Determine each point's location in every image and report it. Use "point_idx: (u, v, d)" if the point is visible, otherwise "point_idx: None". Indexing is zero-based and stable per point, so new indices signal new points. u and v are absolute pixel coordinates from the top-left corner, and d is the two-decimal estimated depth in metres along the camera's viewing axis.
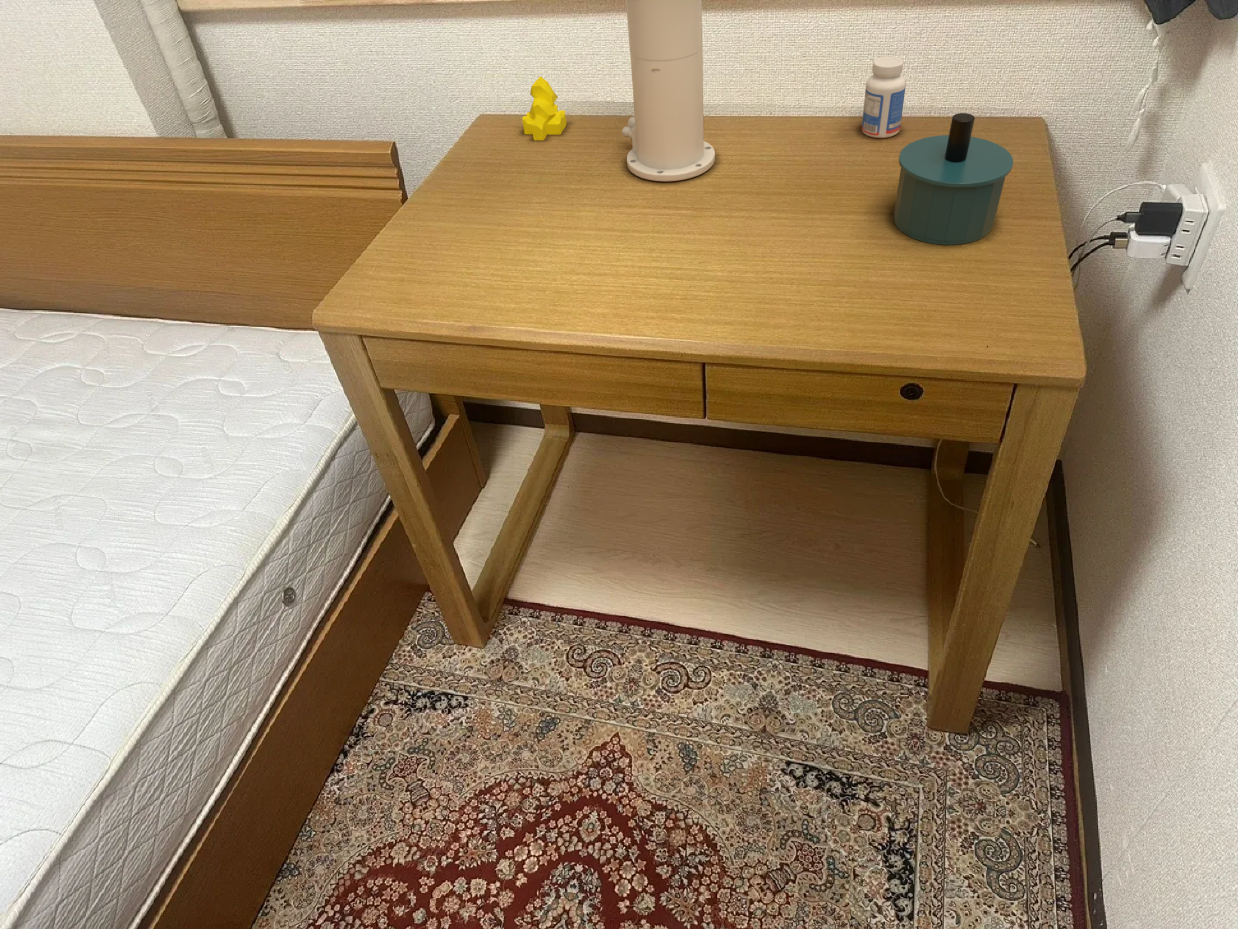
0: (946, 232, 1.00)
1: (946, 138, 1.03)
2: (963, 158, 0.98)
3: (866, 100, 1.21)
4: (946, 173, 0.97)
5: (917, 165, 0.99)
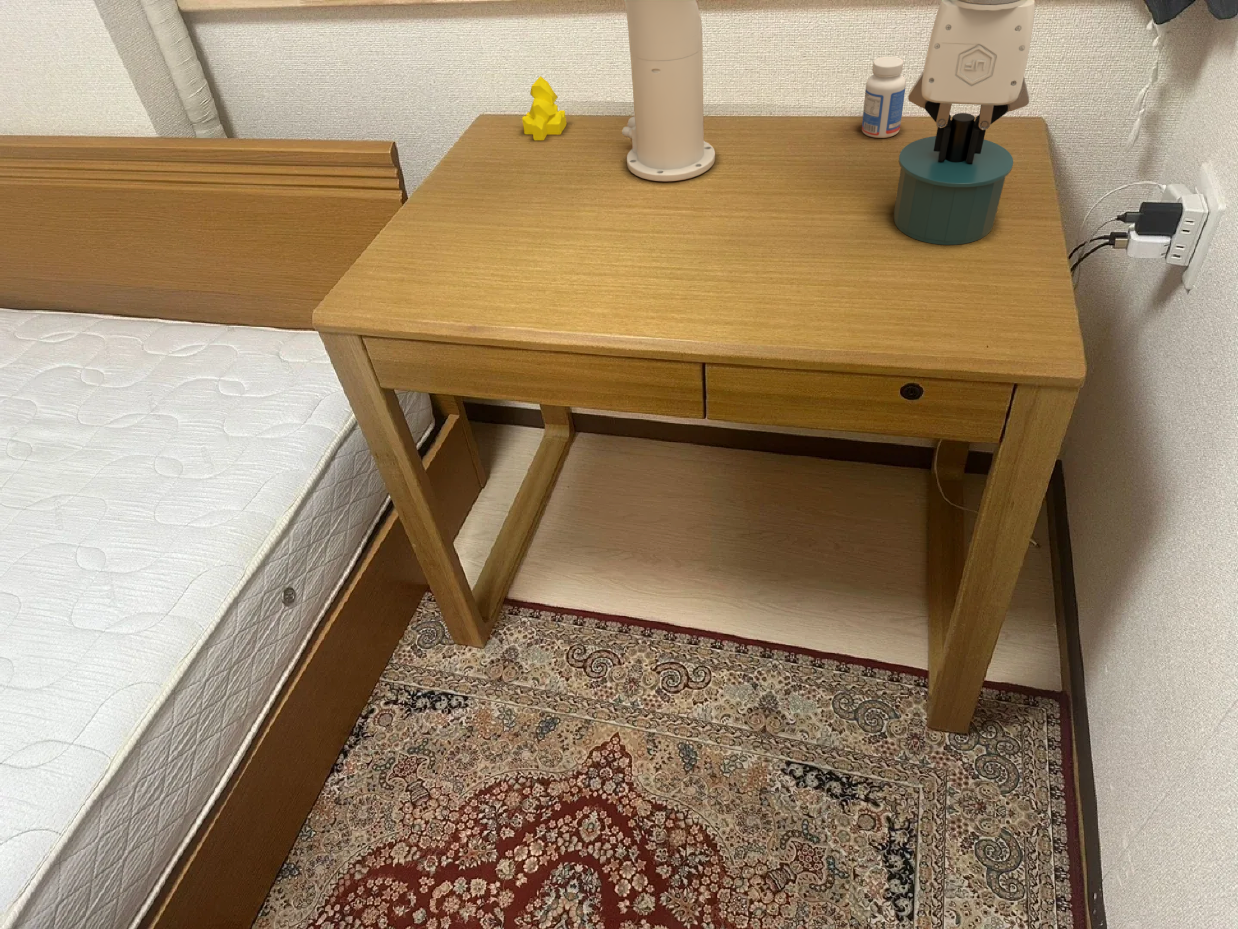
0: (946, 232, 1.00)
1: None
2: (963, 158, 0.98)
3: (866, 100, 1.21)
4: (946, 173, 0.97)
5: (917, 165, 0.99)
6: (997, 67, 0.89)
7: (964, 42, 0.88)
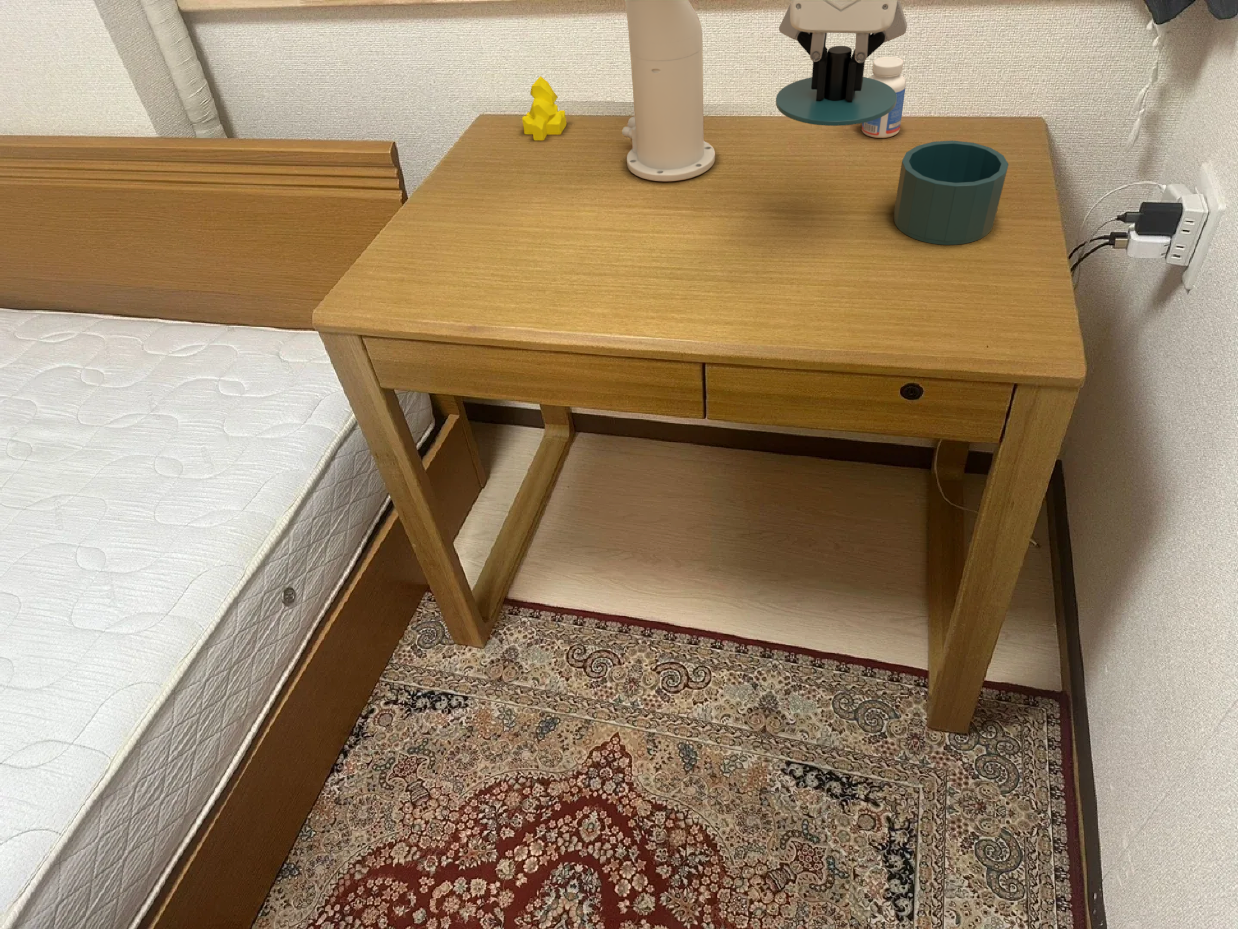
0: (946, 232, 1.00)
1: None
2: (843, 96, 0.90)
3: None
4: (822, 111, 0.89)
5: (793, 104, 0.91)
6: None
7: None
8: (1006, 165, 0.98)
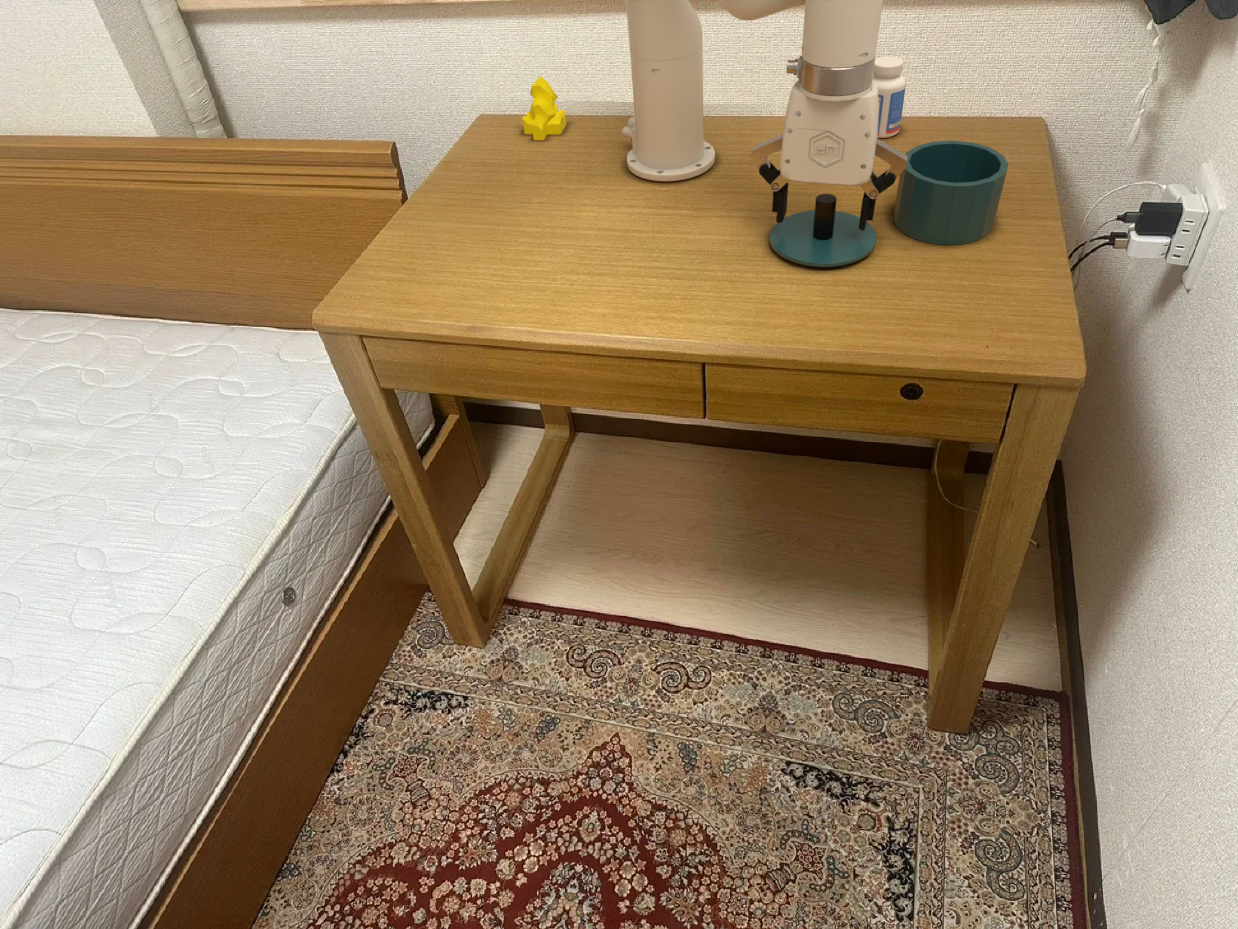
0: (946, 232, 1.00)
1: None
2: (829, 236, 1.02)
3: None
4: (810, 252, 1.00)
5: (785, 242, 1.02)
6: (846, 152, 0.92)
7: (814, 128, 0.92)
8: (1006, 165, 0.98)
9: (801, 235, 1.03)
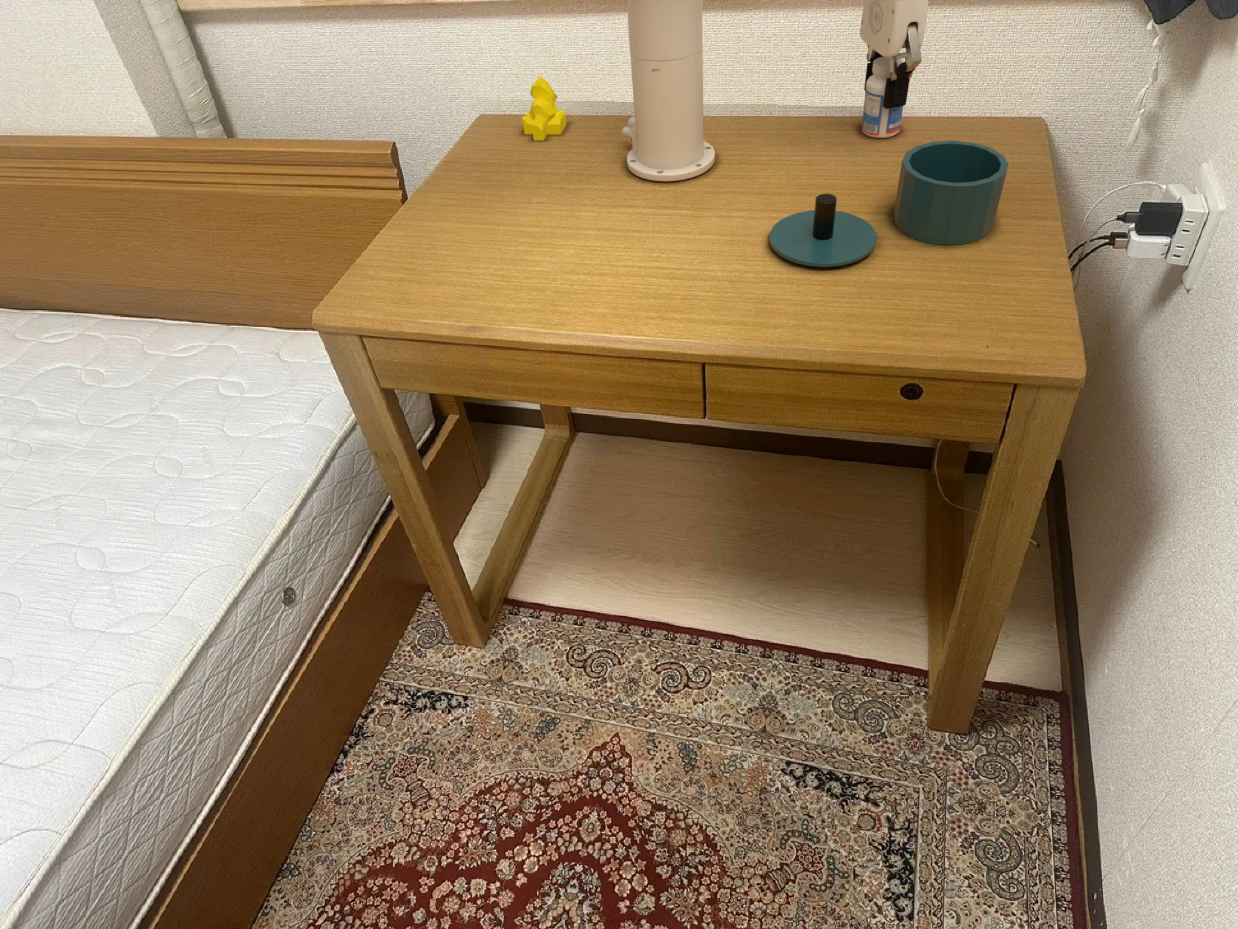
0: (946, 232, 1.00)
1: None
2: (829, 236, 1.02)
3: (866, 100, 1.21)
4: (810, 252, 1.00)
5: (785, 242, 1.02)
6: (882, 23, 1.11)
7: None
8: (1006, 165, 0.98)
9: (801, 235, 1.03)
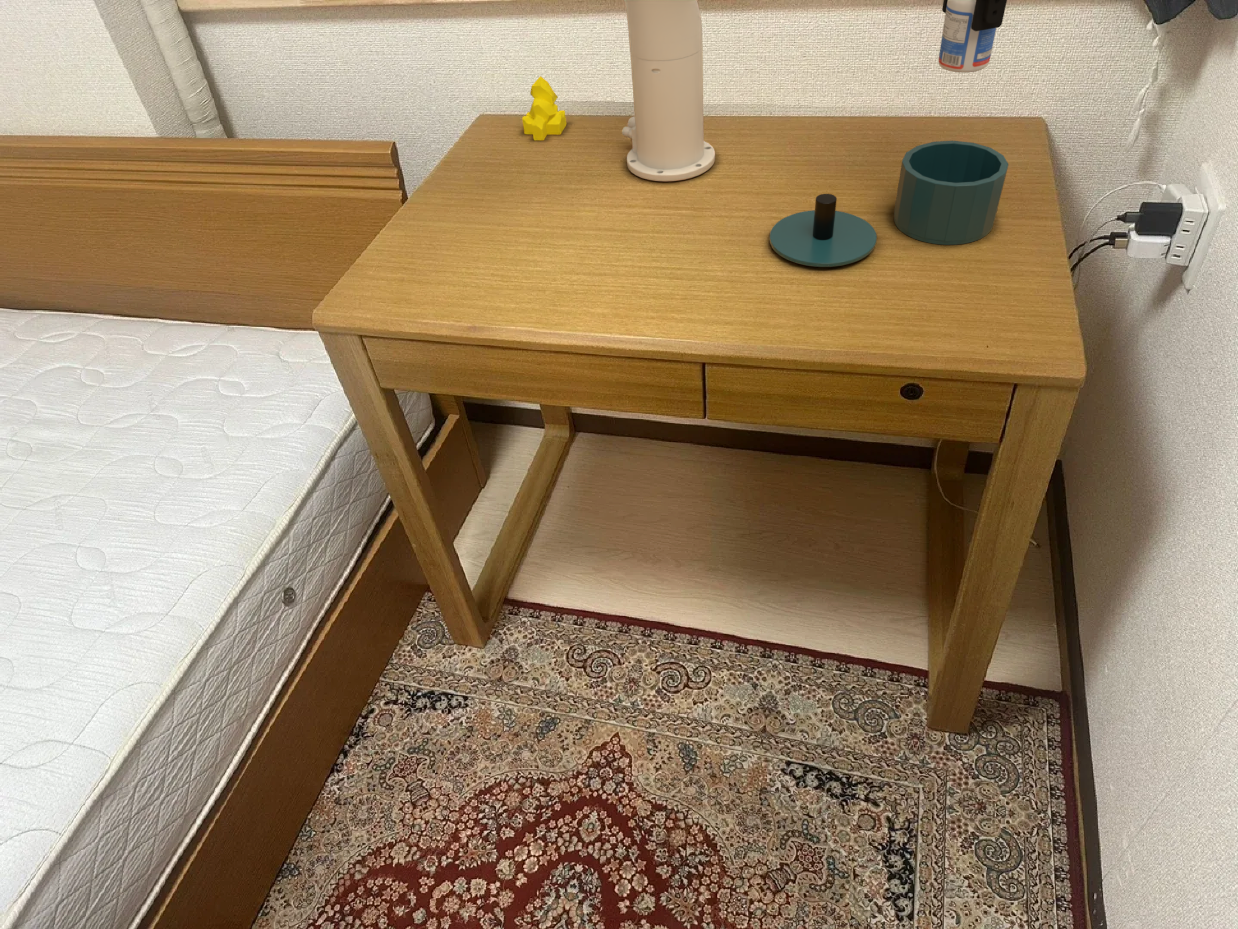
0: (946, 232, 1.00)
1: None
2: (829, 236, 1.02)
3: (947, 22, 0.91)
4: (810, 252, 1.00)
5: (785, 242, 1.02)
6: None
7: None
8: (1006, 165, 0.98)
9: (801, 235, 1.03)
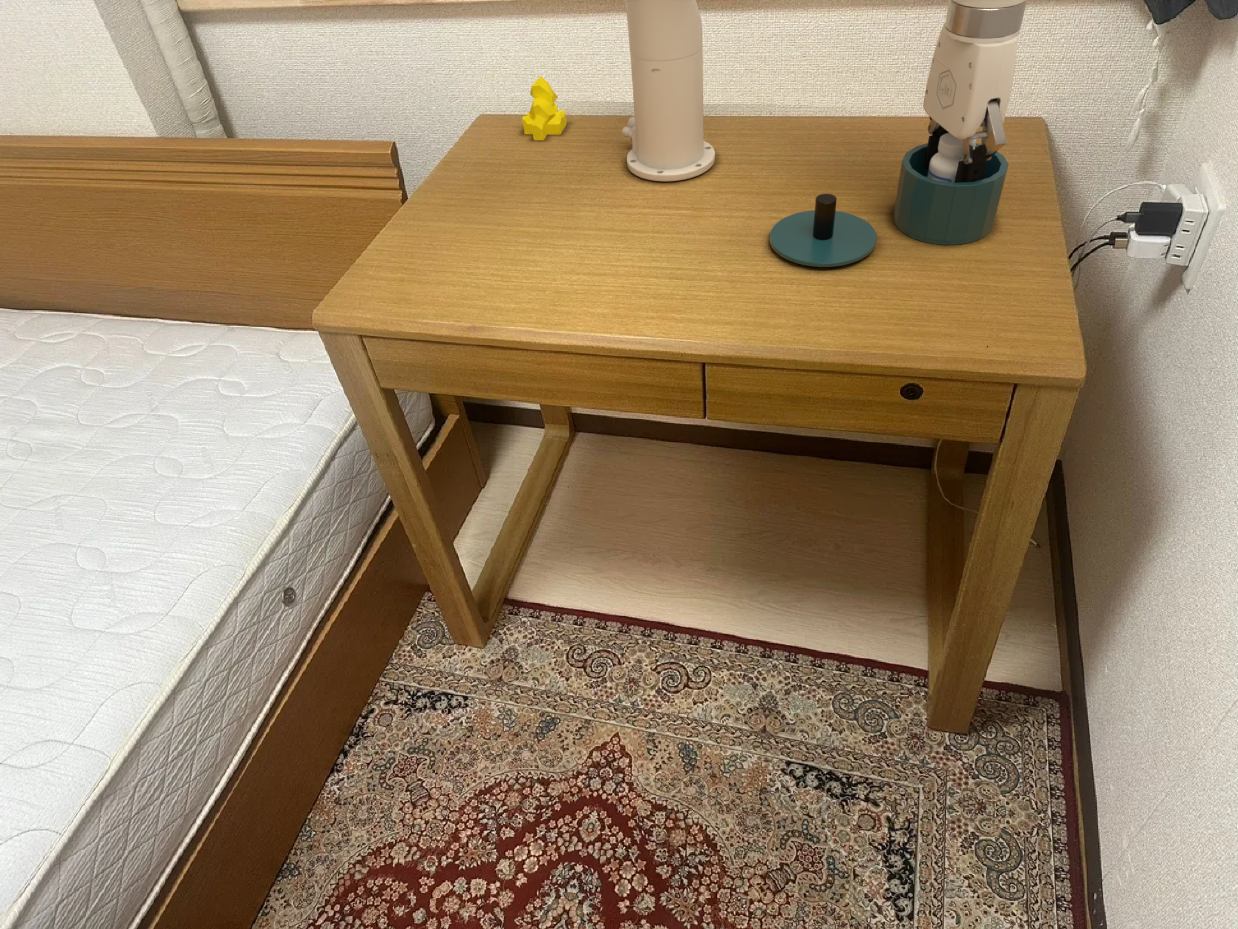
0: (946, 232, 1.00)
1: None
2: (829, 236, 1.02)
3: None
4: (810, 252, 1.00)
5: (785, 242, 1.02)
6: (955, 98, 0.92)
7: (943, 63, 0.93)
8: (1006, 165, 0.98)
9: (801, 235, 1.03)
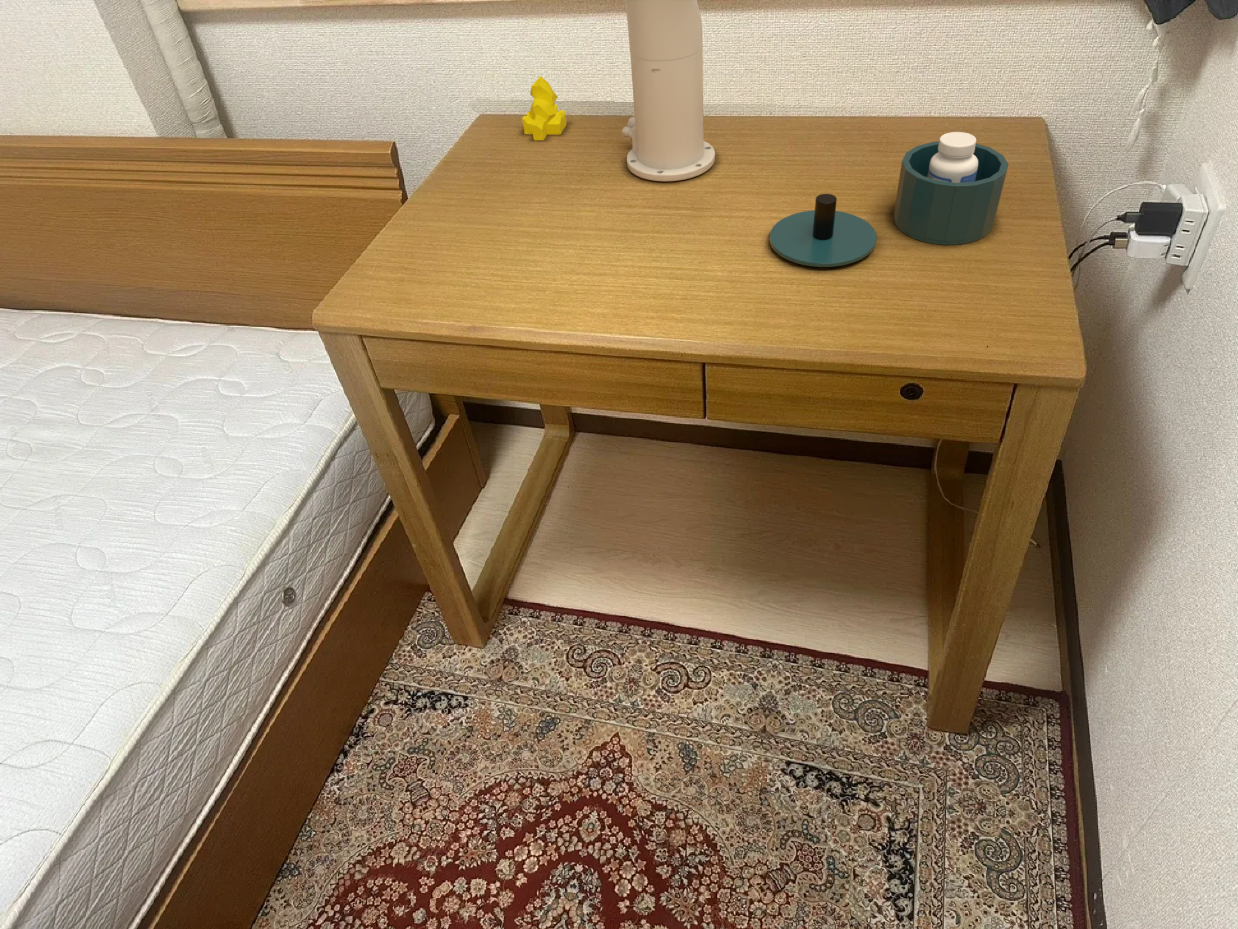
0: (946, 232, 1.00)
1: None
2: (829, 236, 1.02)
3: None
4: (810, 252, 1.00)
5: (785, 242, 1.02)
6: None
7: None
8: (1006, 165, 0.98)
9: (801, 235, 1.03)
